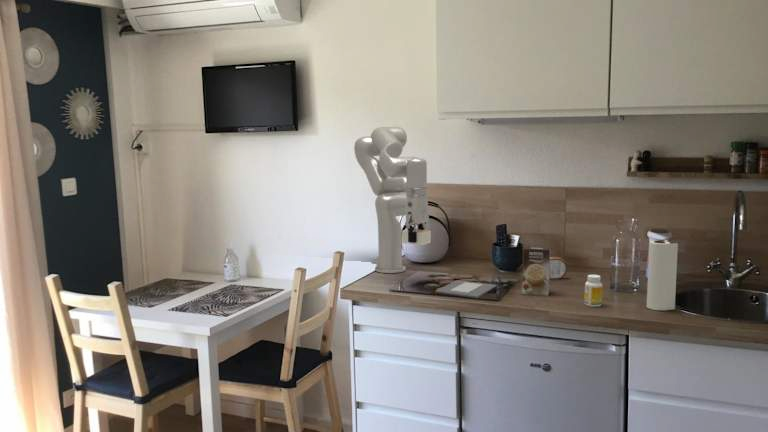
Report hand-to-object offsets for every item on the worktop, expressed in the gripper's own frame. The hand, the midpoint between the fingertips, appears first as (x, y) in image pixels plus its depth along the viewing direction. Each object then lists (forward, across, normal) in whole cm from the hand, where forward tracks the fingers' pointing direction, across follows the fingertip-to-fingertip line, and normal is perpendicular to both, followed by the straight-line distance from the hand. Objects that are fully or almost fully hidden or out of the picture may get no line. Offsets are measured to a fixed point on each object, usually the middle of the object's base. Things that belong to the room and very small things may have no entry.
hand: (416, 240), depth 240 cm
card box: (+1, 0, 0) cm, 1 cm away
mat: (+16, 0, -20) cm, 26 cm away
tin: (+16, +29, -40) cm, 52 cm away
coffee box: (+16, +7, -43) cm, 47 cm away
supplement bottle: (+16, +1, -64) cm, 66 cm away
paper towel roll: (+16, +6, -83) cm, 85 cm away
